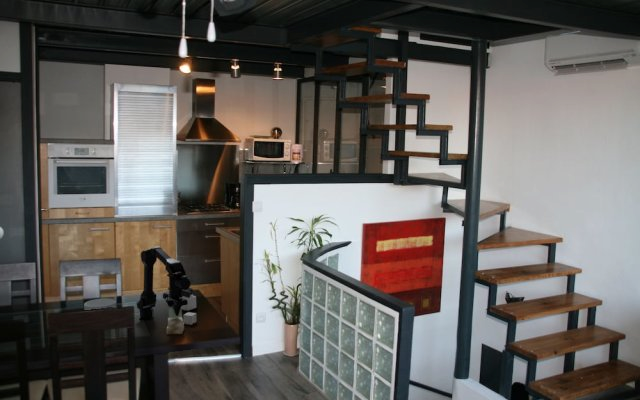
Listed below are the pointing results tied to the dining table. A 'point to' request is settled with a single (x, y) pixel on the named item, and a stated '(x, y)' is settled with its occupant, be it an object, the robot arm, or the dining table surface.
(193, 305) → the medicine bottle
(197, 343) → the dining table surface
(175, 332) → the oak slab
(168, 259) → the robot arm
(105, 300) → the cereal bowl
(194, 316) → the grey cube
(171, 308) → the sage cube
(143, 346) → the dining table surface
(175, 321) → the birch slab
